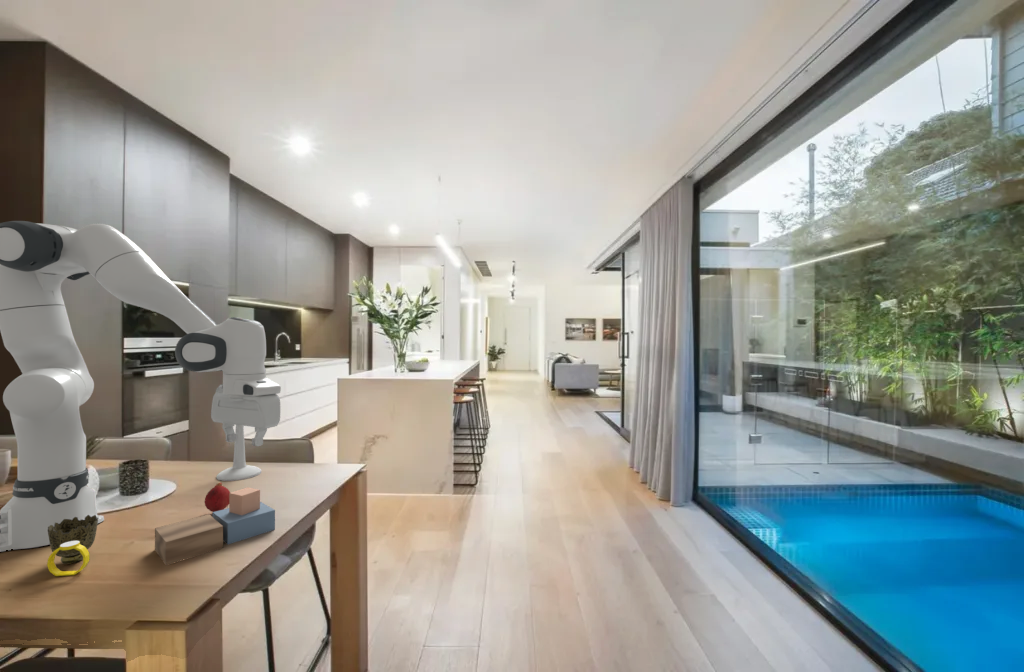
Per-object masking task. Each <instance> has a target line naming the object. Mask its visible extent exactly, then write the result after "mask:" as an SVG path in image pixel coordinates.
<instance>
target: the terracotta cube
mask: <svg viewBox="0 0 1024 672" xmlns="http://www.w3.org/2000/svg"><path fill="white" fill-rule="evenodd" d="M260 502H261V490H260V489H258V488H253V487H248V486H247V487H245V488H242V489H241V488H240V489H238V490H235V491H234V490H233V491H230V493H229V505H228V506H229V507H228V508H229V512H231V513H235V514H239V515H244V514H247V513H249V512H252V511H255V510H257V509H260Z"/></svg>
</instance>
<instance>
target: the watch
mask: <svg viewBox="0 0 1024 672" xmlns="http://www.w3.org/2000/svg"><path fill="white" fill-rule="evenodd" d="M70 549H76V550H78V551H80V553H81V554H82V556H83V559H82V562H83V563H82V564H81V566H80V568H79V569H77V570H66V571H64V570H60V568H58V567H57V566H56V563H55V559H56V554H57V552H58V551H59V550H70ZM89 562H90V552H89V549H88V550H87V548H86V547H85V546H83V545H81V544H80V541H69V542H65V543H63V544H61V545H60V547H59V548H58V549H56V550H55V551H53V552H51V554H50V555H49V556H48V558H47V562H46V563H47V564H46V566H47V569H48V571H49V573H50V574H52V575H53V576H55V577H65V576H75V575H77V574H78V573H79V572H81V571H82V570H84V569H85V568H86V567H87V565H88V564H89Z"/></svg>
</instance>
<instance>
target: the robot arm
mask: <svg viewBox="0 0 1024 672" xmlns="http://www.w3.org/2000/svg"><path fill="white" fill-rule="evenodd" d="M88 275H91V276H92V277H93V278H94V280H96V281H97V282H98V284H99V285H101V287H102V288H103V289H104V290H105V291H107V292H108V293H110V294H111V295H112V296H113V297H115V298H117V299H118V300H119V301H122V302H123V303H125V304H128V305H131V306H135V307H138V308H139V307H140V308H141V309H142V308H143V309H145V310H150V311H152V312H155V313H158V314H160V315H163V316H164V317H165V318H168V319H169V320H171V321H172V322H174V323H175V324H176V325H177V326H178V327H179V328H180V329H181V330H182V331H183V332H185V335H183V336H182V337H181V338H179V340H178V341H177V343H176V345H175V349H174V356H175V359H176V361H177V363H178V365H179V366H181V367H182V368H183V369H185V370H186V371H188V372H195V373H207V372H208V373H209V372H212V373H213V372H217V371H218V372H219V371H220V372H222V383H221V384H219V385H218V387H216V389H215V393H214V394H213V397H212V401H211V409H210V410H211V411H210V417H211V420H212V422H213V423H219V424H220V423H221V424H222V425H221V428H222V430H223V432H224V435H225V442H227V443H233V442H234V443H235V441H236V440H237V438H236V437H237V434H235V429H234V427H235V426H236V425H242V426H245V427H252V428H254V432H255V435H254V437H253V438H251V446H253V447H254V446H255V447H260V446H263V445H264V437H265V435H266V433H267V431H268V429H269V428H275V427H278V425H279V423H280V422H281V398H280V396H279V395H278V394H280V393H281V390H282V388H281V387H282V386H281V384H279V383H278V382H275V381H273V380H272V379H270V378H269V377H267V370H266V366H265V360H266V357H267V339H266V338H267V337H266V332H265V327H264V325H263V324H262V323H261V322H260V321H257V320H255V319H248V318H243V317H238V316H237V317H235V316H234V317H233V316H232V317H227V319H225V320H224V321H222V322H221V323H219V324H218V323H217V322H215V321H214V320H213V319H212V317H210V316H209V315H208V314H207V313H206V312H205V311H203V310H202V309H201V307H199V306H198V305H197V304H196V303H195V302H194V301H193V300H191V299H190V298H189V296H187V295H186V294H185V293H183V291H182V290H181V289H180V288H179V287H178V286H177V285H176V283H174V282H173V281H172V280H171V279H170V278H169V277H168V275H167V274H165V273H164V271H162V269H161V268H160V267H159V266H158V265H157V264H156V263H155V261H153V260H152V258H151V257H150V256H148V254H147V253H146V252H145V251H144V250H143V249H142V248H141V247H140V246H138V244H136V243H135V242H134V241H133V240H132V239H130V238H129V237H128V236H126V234H124V233H122V231H120V230H118V229H117V228H115V227H114V226H112V225H109V224H105V223H90V224H86V225H84V226H81V227H80V228H78V229H77V228H73V227H70V226H65V225H60V224H56V223H55V224H49V223H38V222H37V223H36V222H32V221H28V220H26V221H25V220H11V221H5V222H0V335H1V339H2V343H3V346H4V348H5V349H6V350H7V351H8V352H9V353H10V355H11V356H12V357H13V359H14V362H15V363H16V364H17V366H18V368H19V370H20V372H21V375H19V376H17V377H16V378H14V379H13V380H12V381H11V382H10V383H9V384H8V385H7V386H6V388H5V389H4V391H3V393H2V394H3V395H2V401H3V405H4V406H5V409H7V410H8V412H9V415H10V419H11V424H12V428H13V431H14V435H15V440H16V445H17V446H16V447H17V478H16V479H15V480H14V484H13V485H12V497H11V498H10V499H9V500H8V501H7V502H6V504H5V505H3V507H1V509H0V552H1V553H3V552H6V550H8V551H11V549H13V550H21V549H22V550H23V549H32V548H39V547H43V546H48V545H49V546H50V542H49V536H48V526H50V525H53V526H54V524H55V523H58V524H60V523H61V522H62V521H63V520H64V519H71V520H72V519H73V518H74V517H78V520H82V519H83V520H85V517H86V516H87V515H90V516H91V517H92V516H94V515H96V517H97V518H98V517H99V518H98V524H100V523H102V522H103V521H105V517H104V515H101V514H100V515H99V514H98V509H97V497H96V489H94V488H92V487H89V486H88V484H89V479H90V474H89V469H88V468H87V435H86V433H85V432H84V429H83V424H82V419H81V413H80V407H81V406H82V405H84V404H85V403H86V402H87V401H88V400H89V399H90V398H91V396H92V394H93V392H94V389H95V382H94V379H93V378H92V376H91V374H90V372H89V369H88V366H87V363H86V362H85V359H84V356H83V355H82V352H81V351H80V348H79V346H78V344H77V342H76V339H75V337H74V334H73V331H72V326H71V323H70V319H69V315H68V311H67V308H66V305H65V300H64V298H63V295H62V287H61V286H62V284H63V282H64V281H65V280H66V279H67V280H71V281H78V280H80V279H82V278H83V277H86V276H88Z"/></svg>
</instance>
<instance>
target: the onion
mask: <svg viewBox="0 0 1024 672" xmlns="http://www.w3.org/2000/svg"><path fill="white" fill-rule="evenodd" d="M229 493H231V491H230V489H229V488H227V487H225V486H224V485H223V484H222V482H220V481H219V482H217V483H216V484H215V485H214V487H212V488H210V490H209V491H208V492H207V493H206V495H205V497H204V506H205V508H206V509H207V510H208V511H210V512H212V513H213V512H216V511H219V510H223V509H227V508H228V506H229Z"/></svg>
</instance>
